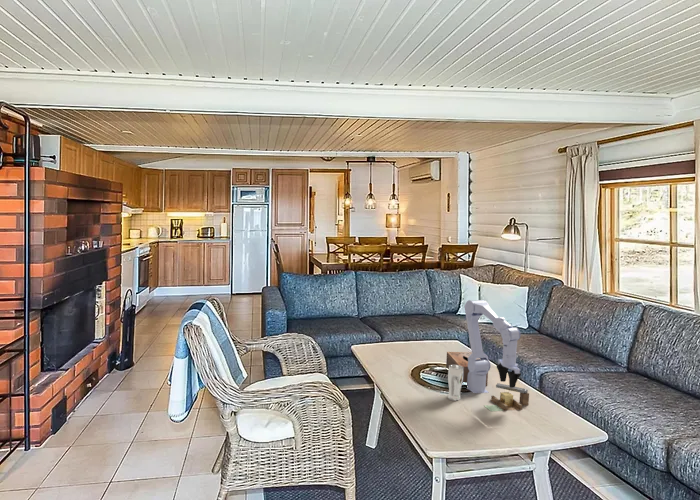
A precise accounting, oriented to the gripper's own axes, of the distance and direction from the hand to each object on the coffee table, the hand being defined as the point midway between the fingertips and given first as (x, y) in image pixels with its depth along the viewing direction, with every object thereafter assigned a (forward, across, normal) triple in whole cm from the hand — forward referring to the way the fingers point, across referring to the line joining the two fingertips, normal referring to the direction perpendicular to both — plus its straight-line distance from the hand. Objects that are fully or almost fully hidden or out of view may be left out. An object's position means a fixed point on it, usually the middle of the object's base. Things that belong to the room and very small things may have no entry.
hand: (507, 384), depth 216 cm
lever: (+4, +4, -5) cm, 7 cm away
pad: (+10, -3, +8) cm, 13 cm away
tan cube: (+9, 0, 0) cm, 9 cm away
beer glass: (+10, +11, +20) cm, 25 cm away
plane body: (+10, 0, -3) cm, 10 cm away
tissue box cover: (+10, +39, 0) cm, 40 cm away
